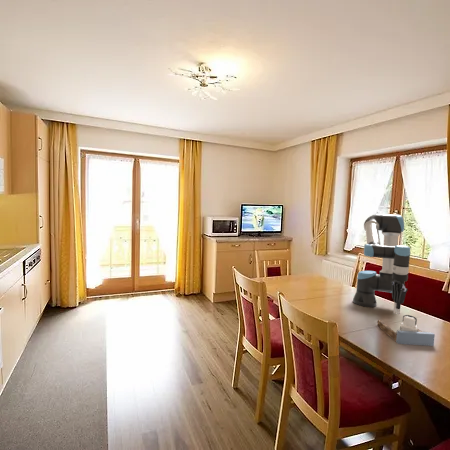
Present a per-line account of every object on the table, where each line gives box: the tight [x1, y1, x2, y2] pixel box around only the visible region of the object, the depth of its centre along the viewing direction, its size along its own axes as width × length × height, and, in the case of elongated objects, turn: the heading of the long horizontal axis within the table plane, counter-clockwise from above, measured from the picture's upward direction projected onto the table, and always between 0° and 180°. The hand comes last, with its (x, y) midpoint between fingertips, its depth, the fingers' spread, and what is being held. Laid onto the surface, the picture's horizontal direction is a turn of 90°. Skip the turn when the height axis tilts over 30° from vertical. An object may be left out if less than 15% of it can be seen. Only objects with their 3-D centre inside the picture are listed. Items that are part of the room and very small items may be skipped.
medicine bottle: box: [399, 314, 418, 332], centre depth 149 cm, size 7×7×12 cm
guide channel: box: [377, 319, 423, 342], centre depth 154 cm, size 20×17×3 cm
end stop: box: [395, 329, 436, 347], centre depth 143 cm, size 2×17×6 cm, turn 87°
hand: (396, 313), depth 161 cm, fingers closed
